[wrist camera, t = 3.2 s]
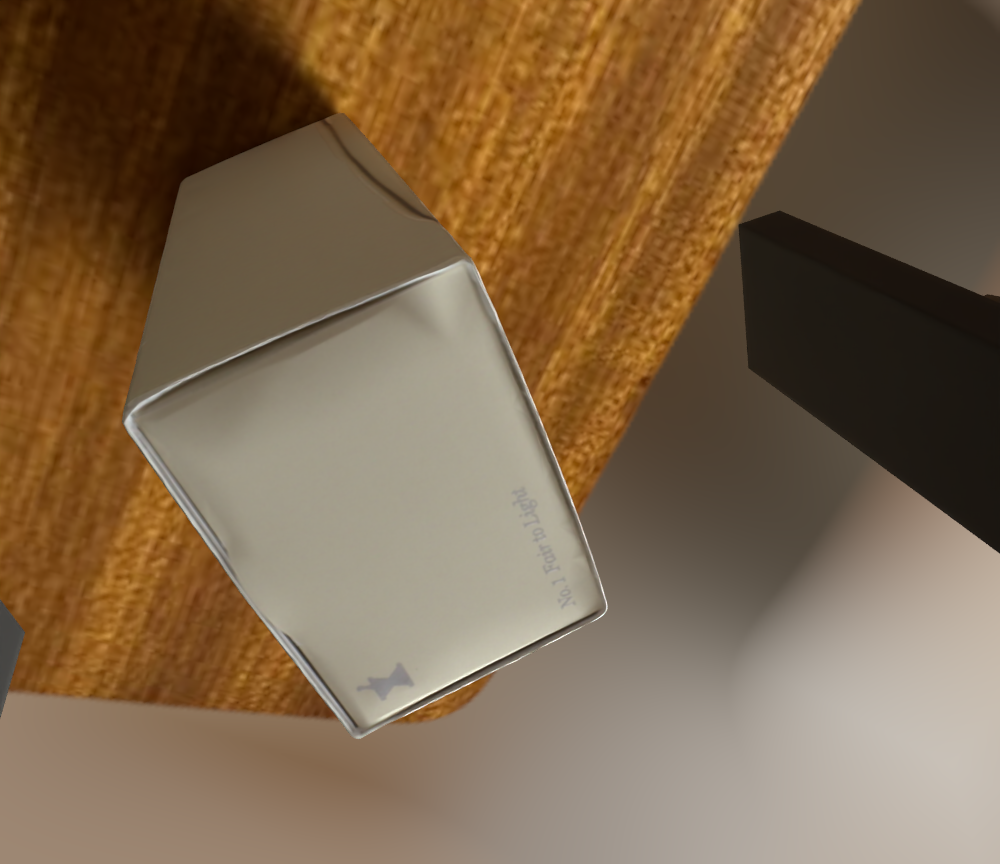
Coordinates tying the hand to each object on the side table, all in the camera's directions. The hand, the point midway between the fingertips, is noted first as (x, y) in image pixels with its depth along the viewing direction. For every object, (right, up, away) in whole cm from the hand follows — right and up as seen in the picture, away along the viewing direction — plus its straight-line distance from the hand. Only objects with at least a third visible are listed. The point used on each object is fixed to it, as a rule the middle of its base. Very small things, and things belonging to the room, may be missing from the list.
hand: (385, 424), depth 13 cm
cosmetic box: (-3, +4, +8) cm, 9 cm away
